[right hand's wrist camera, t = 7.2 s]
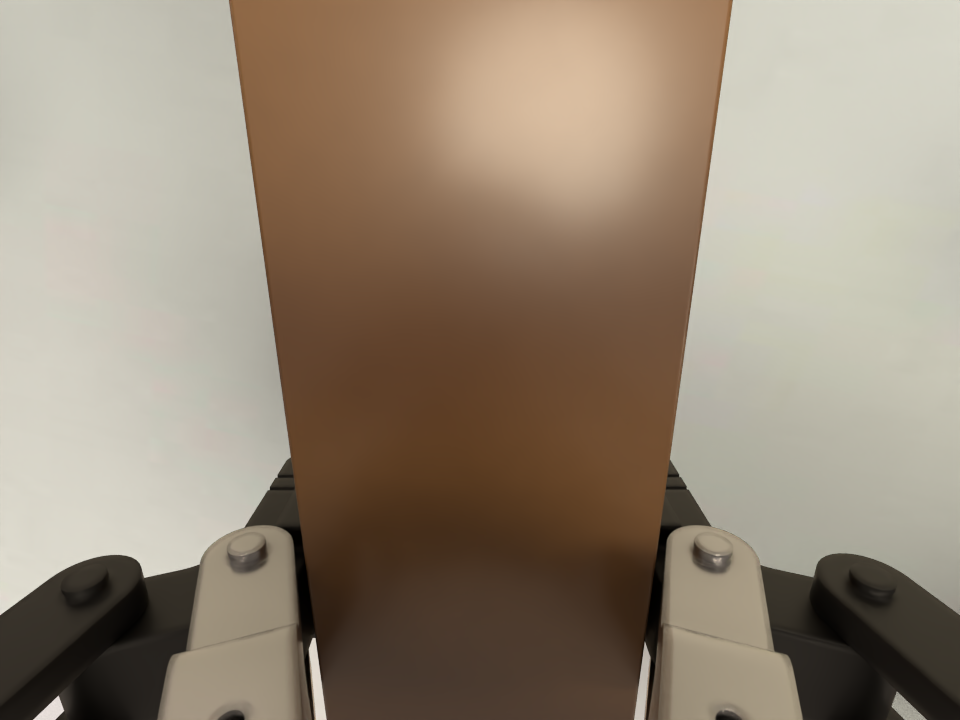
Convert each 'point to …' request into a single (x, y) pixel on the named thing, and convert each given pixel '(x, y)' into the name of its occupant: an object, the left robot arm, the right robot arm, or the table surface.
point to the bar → (480, 330)
